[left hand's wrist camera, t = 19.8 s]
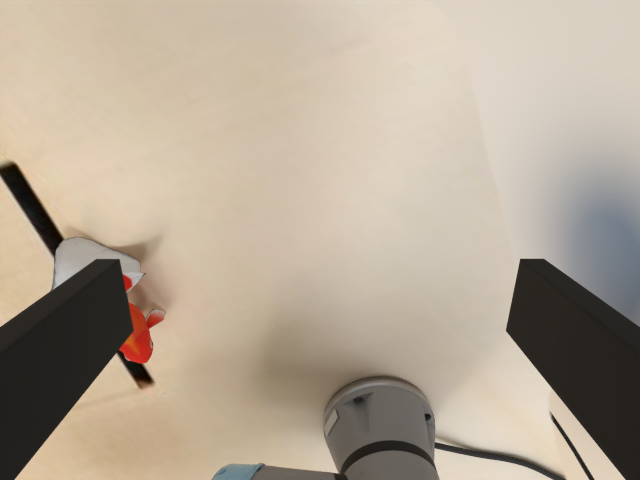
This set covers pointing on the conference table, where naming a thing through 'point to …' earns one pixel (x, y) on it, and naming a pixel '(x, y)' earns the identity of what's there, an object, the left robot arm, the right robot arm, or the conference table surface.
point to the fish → (84, 251)
